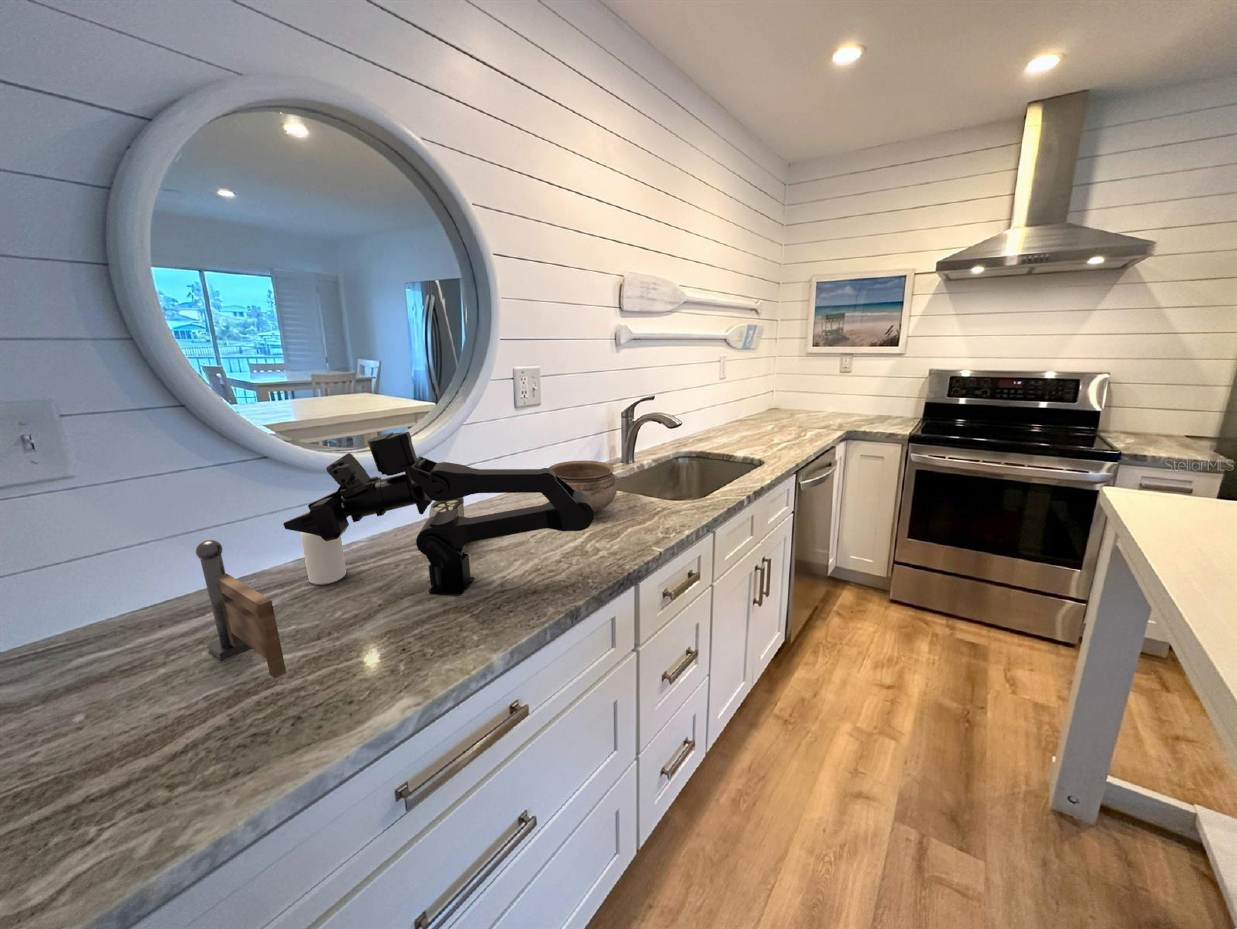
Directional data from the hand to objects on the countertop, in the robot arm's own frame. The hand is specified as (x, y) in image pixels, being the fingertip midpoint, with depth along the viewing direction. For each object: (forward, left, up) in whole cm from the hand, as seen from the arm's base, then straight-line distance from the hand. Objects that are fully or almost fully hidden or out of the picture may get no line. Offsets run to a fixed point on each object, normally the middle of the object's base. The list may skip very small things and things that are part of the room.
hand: (297, 516), depth 86 cm
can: (+2, -7, -16) cm, 18 cm away
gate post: (+1, +15, -16) cm, 22 cm away
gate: (-7, +19, -14) cm, 25 cm away
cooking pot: (-40, -50, -16) cm, 66 cm away
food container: (-14, -25, -16) cm, 33 cm away
